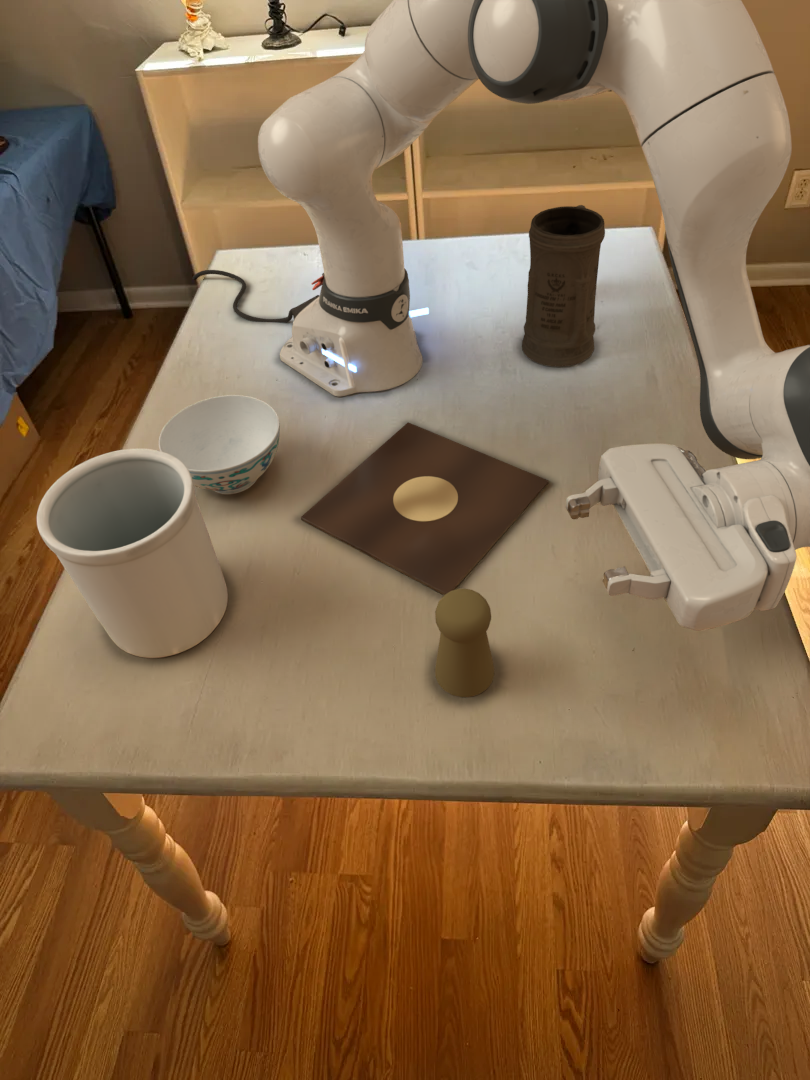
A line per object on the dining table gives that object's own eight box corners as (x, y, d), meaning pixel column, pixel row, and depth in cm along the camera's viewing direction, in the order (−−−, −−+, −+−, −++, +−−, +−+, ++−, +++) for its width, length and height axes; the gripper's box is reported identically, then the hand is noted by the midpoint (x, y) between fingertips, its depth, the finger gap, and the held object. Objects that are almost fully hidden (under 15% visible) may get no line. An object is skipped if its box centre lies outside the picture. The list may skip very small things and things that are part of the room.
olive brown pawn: (453, 707, 77) (450, 640, 69) (424, 662, 81) (418, 594, 73) (506, 680, 78) (508, 612, 70) (474, 638, 82) (474, 569, 74)
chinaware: (305, 445, 106) (295, 399, 101) (267, 523, 96) (254, 476, 91) (203, 436, 109) (188, 390, 104) (156, 510, 99) (137, 464, 94)
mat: (301, 520, 96) (300, 516, 96) (408, 424, 108) (407, 421, 107) (447, 597, 86) (447, 593, 86) (548, 483, 98) (549, 479, 97)
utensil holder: (208, 672, 82) (157, 560, 69) (77, 658, 84) (6, 547, 71) (250, 566, 92) (213, 451, 79) (132, 556, 94) (78, 443, 81)
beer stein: (592, 372, 113) (609, 234, 99) (517, 368, 115) (524, 232, 101) (595, 322, 124) (611, 191, 110) (527, 319, 126) (534, 190, 112)
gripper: (690, 417, 75) (550, 443, 74) (807, 573, 61) (636, 608, 60) (679, 467, 79) (547, 492, 78) (785, 623, 65) (625, 657, 64)
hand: (586, 544), depth 69 cm, fingers open, 8 cm apart
